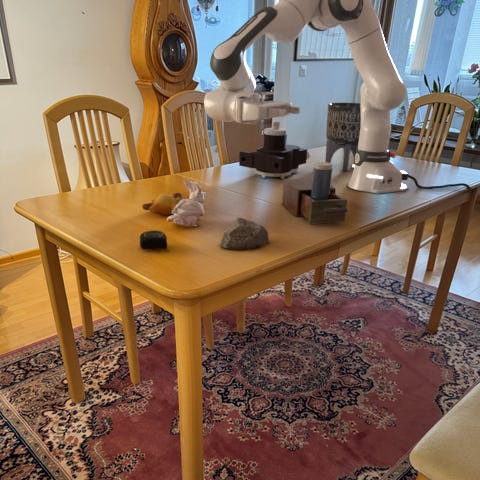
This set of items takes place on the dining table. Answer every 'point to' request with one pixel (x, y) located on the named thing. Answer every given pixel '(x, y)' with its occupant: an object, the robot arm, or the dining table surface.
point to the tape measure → (153, 240)
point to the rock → (244, 235)
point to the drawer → (323, 208)
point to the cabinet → (296, 193)
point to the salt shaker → (321, 181)
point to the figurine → (189, 206)
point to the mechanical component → (274, 155)
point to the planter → (343, 130)
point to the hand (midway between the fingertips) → (292, 111)
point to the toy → (163, 204)
